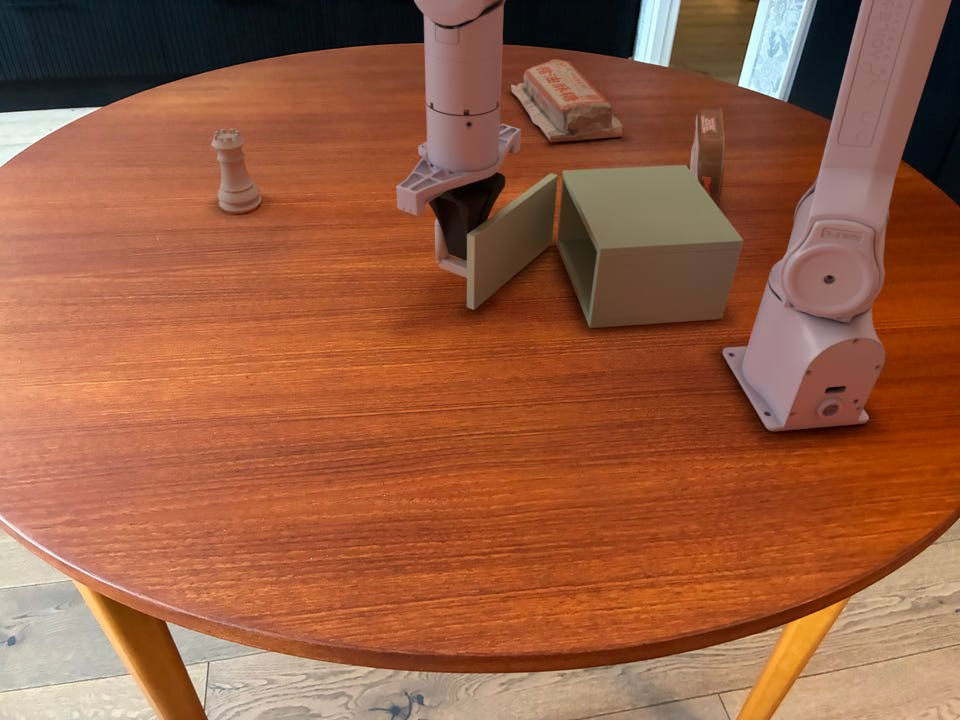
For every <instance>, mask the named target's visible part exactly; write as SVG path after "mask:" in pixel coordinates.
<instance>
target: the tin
mask: <svg viewBox="0 0 960 720" xmlns="http://www.w3.org/2000/svg"><path fill="white" fill-rule="evenodd" d="M694 120H695V129H694V136H693V143H692V145H691V149H690V157H689V170H690V171H691V172H692V174H693V175H694V176H695V178H696V179H697V180H698V181H699V183H700V184H701V185H702V187H703V188H704V189H705V191H706V192H707V193H708V195H709V196H710V197H711V198H712V200H713V201H714V202H715V204H716V205H717V206H718V207H719V204H720V200H721V194H722V187H723V180H724V173H725V160H726V134H725V124H724V114H723V108H721V107H720V108H699V109H697V110H696V114H695V118H694Z"/></svg>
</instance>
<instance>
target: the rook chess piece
mask: <svg viewBox="0 0 960 720" xmlns="http://www.w3.org/2000/svg"><path fill="white" fill-rule="evenodd" d="M212 136H213V139H212V141H211V144H210V145H211V146H212V148H213V149H214V150H215V151H217V156H216V160H217V161H218V162H219V166H220V177H221V178H220V179H221V180H220V183H219V188H218V190H217V198H218V206H219V208H221V209H222V210H223V211H225V212H227V213H230V214H234V215H235V214H236V215H237V214H246V213H250V212H252V211H254V210H256V209H257V208H258V207H259V206H260V204H261V202H262V196H261V195H260V189H259V187H258V185H257V184H256V183H254V180H253V178H251V176H250V174H249V172H248V169H247V167H246V166H247V165H246V162H245V156H246V154H245V152H244V151H243V149H242V148H243V146H244V144H245V142H246V141H245V139H244V137H242V136H241V135H240V131H239V129H237V130H236V129H235V128H231V127H230V128H229V132H227V129H226V128H220V131H219V130H215V131H214V132H213V135H212Z"/></svg>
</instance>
